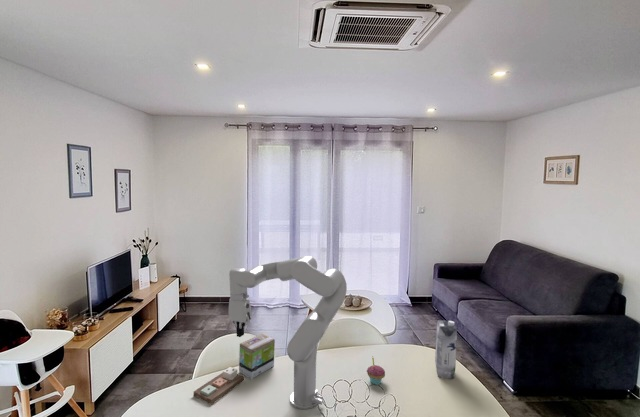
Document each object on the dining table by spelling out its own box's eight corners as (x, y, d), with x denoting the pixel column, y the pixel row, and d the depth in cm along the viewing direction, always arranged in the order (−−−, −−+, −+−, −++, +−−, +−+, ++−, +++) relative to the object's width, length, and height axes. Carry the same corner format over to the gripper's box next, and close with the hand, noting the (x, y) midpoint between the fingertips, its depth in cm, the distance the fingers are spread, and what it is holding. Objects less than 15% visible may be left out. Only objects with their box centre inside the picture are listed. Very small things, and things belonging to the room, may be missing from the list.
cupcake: (364, 383, 157) (364, 358, 156) (370, 374, 164) (370, 350, 163) (381, 388, 153) (382, 363, 152) (387, 379, 160) (388, 355, 159)
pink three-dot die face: (227, 386, 152) (227, 380, 152) (219, 392, 148) (219, 385, 148) (220, 383, 154) (220, 377, 154) (212, 389, 150) (212, 382, 150)
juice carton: (436, 378, 162) (438, 324, 160) (434, 366, 172) (436, 316, 170) (455, 380, 160) (458, 326, 158) (452, 369, 170) (455, 317, 168)
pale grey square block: (216, 394, 146) (216, 387, 146) (208, 400, 142) (208, 393, 142) (209, 391, 149) (209, 384, 148) (200, 396, 145) (200, 390, 144)
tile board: (244, 380, 157) (244, 376, 157) (211, 404, 140) (211, 399, 140) (227, 373, 163) (227, 369, 162) (193, 395, 145) (193, 391, 145)
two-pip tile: (237, 375, 158) (237, 369, 157) (230, 380, 154) (230, 373, 153) (230, 372, 160) (230, 366, 160) (223, 377, 156) (223, 371, 156)
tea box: (252, 379, 158) (252, 349, 157) (238, 372, 164) (238, 343, 163) (274, 366, 170) (275, 338, 169) (261, 359, 176) (261, 332, 175)
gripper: (257, 295, 149) (258, 335, 150) (232, 291, 156) (233, 329, 157) (246, 300, 142) (248, 342, 144) (220, 296, 149) (222, 335, 151)
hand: (240, 335), depth 150 cm, fingers closed
